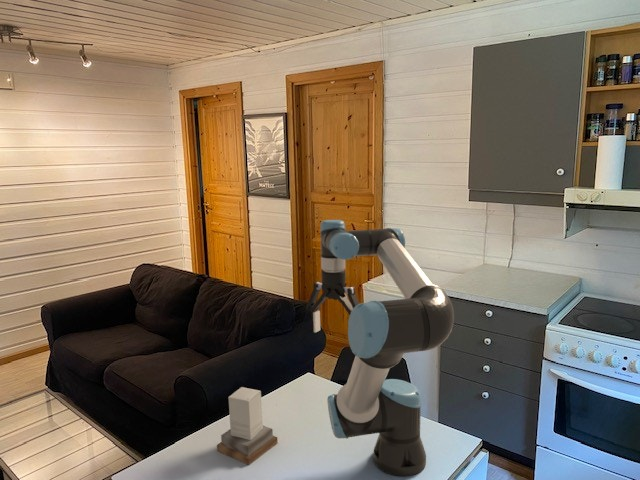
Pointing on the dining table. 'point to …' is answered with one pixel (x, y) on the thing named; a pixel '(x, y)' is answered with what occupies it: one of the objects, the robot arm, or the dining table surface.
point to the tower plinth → (247, 458)
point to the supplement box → (245, 413)
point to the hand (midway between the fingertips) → (334, 335)
